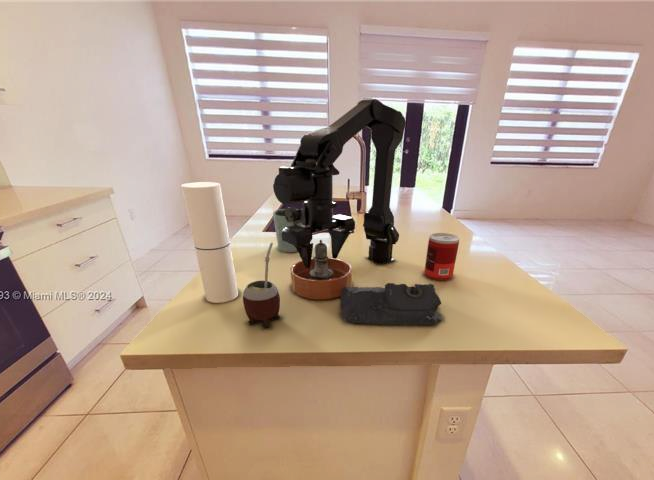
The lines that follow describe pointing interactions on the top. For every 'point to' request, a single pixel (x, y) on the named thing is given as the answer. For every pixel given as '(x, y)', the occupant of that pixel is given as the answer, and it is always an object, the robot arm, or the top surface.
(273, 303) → the mate gourd
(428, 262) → the canned food
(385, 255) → the robot arm
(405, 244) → the top surface
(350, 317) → the dark slate chunk
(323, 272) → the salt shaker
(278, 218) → the green cup
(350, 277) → the bowl
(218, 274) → the cylindrical container
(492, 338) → the top surface
